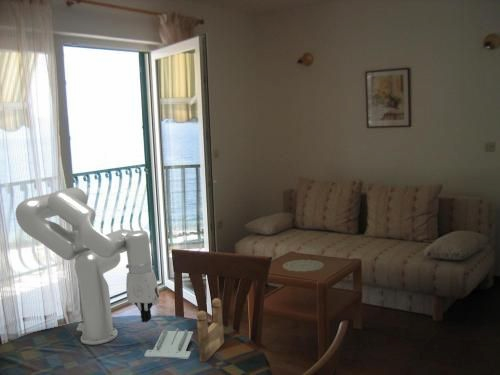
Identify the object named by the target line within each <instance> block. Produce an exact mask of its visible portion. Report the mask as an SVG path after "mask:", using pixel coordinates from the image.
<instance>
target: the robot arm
mask: <svg viewBox="0 0 500 375" xmlns="http://www.w3.org/2000/svg"><path fill="white" fill-rule="evenodd" d="M96 215H97V214H96V211H95V209H93V208H92V207H90V206H89V205H88V197H87V195H86V193H85V191H84V190H83V189H81V188H78V187H69V188H68V187H67V188H63V189H59V190H56V191H54V192H51V193H48V194H43V195H39V196H34V197H33V196H32V197H30V198H27V199H25V200H23V201H20V202H19V204H17V206H16V210H15V218H16V221H17V224H18V226H19V228H20V229H21V230H22V231H23V232H24V233H25V234H27V236H30V237H31V238H32V239H34V240H36V241H37V242H39V243H40V244H42V245H43V246H45V247H46V248H48V249H49V250H50V251H52V252H53V253H55V254H56V256H58V257H60V258H62V260H66V261H72V260H74V261H75V262H74V270H75V274H76V277H77V280H78V285H79V291H80V292H79V293H80V299H81V300H80V301H81V308H82V309H81V311H82V320H83V322H79V323H78V325H77V327H76V331H77V332H82V334H81V336H80V342H81V343H82V344H85V345H88V346H89V345H90V346H91V345H95V346H96V345H101V344H105V343H108V342H110V341H112V340H114V339H116V338H117V336H118V334H119V332H118V329H117V328H115V327H114V326H113V318H112V315H113V314H112V307H111V297H110V288H109V283H108V282H107V280H106V278H105V276H104V274H105V273H107V272H109V271H111V270H113V269H115V268H116V267H117V266H119V264H120V262H121V254H123V253H126V256H127V264H125V268H126V269H128V272H127V273H126V279H125V280H126V282H125V283H126V284H125V286H126V288H125V289H126V298H127V301H128V302H129V304H132V305H135V306H136V308H137V309H138V311H139V313H140V318H141V323H148V322H149V321H151V320H152V313H151V309H152V307H153V306H157V305H158V304H160V300H159V298H160V294H159V293H160V291H159V285H158V281H157V277H156V273H155V271H154V270H153V266H152V265H153V264H152V257H151V250H150V249H151V247H150V241H149V240H150V239H149V234H148V232H147V231H146V230H130V229H124V228H123V229H118V230H116V231H113V232H110V233H106V234H104V233H102V232H101V231H100V230H98V229H97V228H95V227H94V226H93V223H94V221H95V218H96V217H97V216H96ZM57 216H58V217H59V218H61V219H62V220H64V221H65V222H66V223H68V224H69V225H71V227H73V228H75V229H76V230H73V231H71V230H67V229H66V228H64V227H63V226H61V225H60V224H58V223H57V222H54V221H51V220H47V219H49V218H53V217H57Z"/></svg>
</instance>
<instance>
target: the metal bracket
mask: <svg viewBox="0 0 500 375" xmlns="http://www.w3.org/2000/svg"><path fill="white" fill-rule="evenodd" d="M193 333H194V331H188V329H184V330H183V331H182V330H181V331H180V330H179V327H177V328H176V330H168V329H163V330H162V331H161V332H160V335H159V337H158V339H157V341H156V343H155V345H154V346H153V349H147V350H145V353H144V358H145V357H147V358H170V359H171V358H172V359H173V358H174V359H175V358H176V359H183V360H185V359H186V360H188V359H190V356H191V354H192V351H190V350H189V351H187V348H188V346H189V343H190V342H191V339H192V336H193Z"/></svg>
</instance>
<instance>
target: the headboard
mask: <svg viewBox="0 0 500 375" xmlns="http://www.w3.org/2000/svg"><path fill="white" fill-rule="evenodd" d="M211 304H212V308H211V309H212V323H211V324H210V325H208V317H207V316H208V314H207V312H206V311H205V310H200V311H198V312H197V314H196V318H197V321H196V322H197V323H196V324H197V337H198V350H199V362H203V363H206V362H207V361H209V359H210V358H211V357H212V356H213V355H214V354H215V352H216V351H217V350H219V349H220V347H221V346H222V345H223V344H224V343H225V337H224V322H223V308H222V300H221V299H220V298H218V297H217V298H216V297H215V298H214V299H212V301H211Z"/></svg>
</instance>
